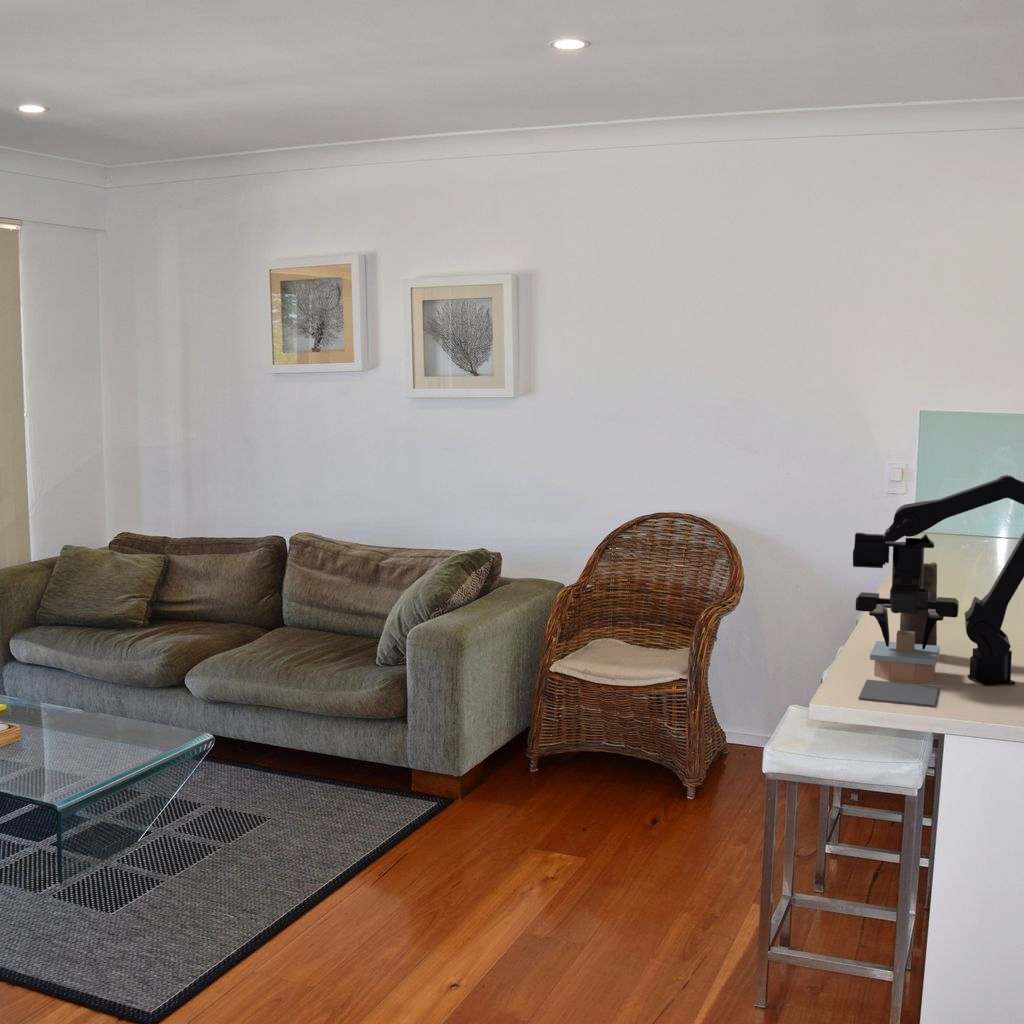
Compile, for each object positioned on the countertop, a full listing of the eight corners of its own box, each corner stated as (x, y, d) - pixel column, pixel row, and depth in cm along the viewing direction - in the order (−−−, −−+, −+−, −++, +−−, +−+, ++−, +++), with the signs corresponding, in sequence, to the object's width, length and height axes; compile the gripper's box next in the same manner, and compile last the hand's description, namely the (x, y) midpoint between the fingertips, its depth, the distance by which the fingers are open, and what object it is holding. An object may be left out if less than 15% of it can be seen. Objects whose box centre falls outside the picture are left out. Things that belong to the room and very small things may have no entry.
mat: (866, 681, 215) (866, 679, 215) (938, 688, 210) (938, 686, 210) (858, 699, 203) (858, 697, 203) (934, 707, 198) (934, 704, 198)
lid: (876, 645, 227) (877, 624, 226) (939, 650, 222) (940, 628, 221) (870, 659, 216) (870, 636, 215) (936, 665, 211) (936, 642, 210)
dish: (878, 665, 226) (878, 646, 226) (936, 670, 222) (936, 651, 221) (872, 679, 216) (873, 659, 216) (932, 684, 212) (933, 664, 211)
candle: (891, 652, 237) (893, 559, 235) (919, 648, 240) (921, 557, 237) (915, 660, 230) (918, 565, 228) (944, 656, 233) (947, 562, 230)
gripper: (852, 573, 213) (851, 653, 215) (957, 579, 206) (954, 661, 207) (859, 564, 223) (858, 640, 225) (960, 569, 216) (957, 648, 218)
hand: (905, 647), depth 218 cm, fingers open, 6 cm apart
